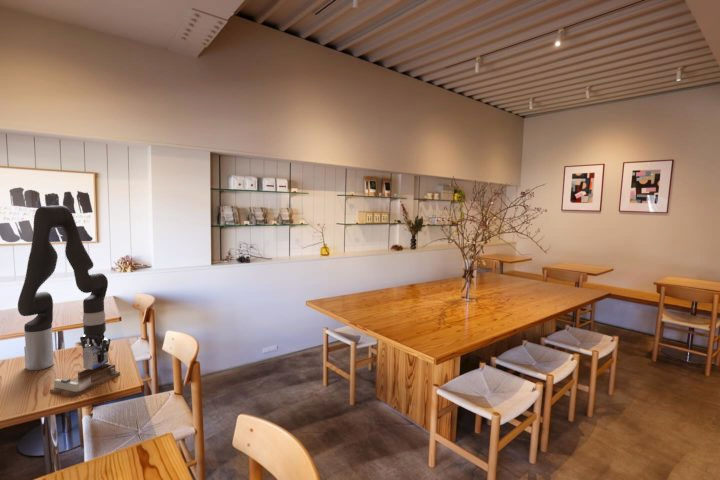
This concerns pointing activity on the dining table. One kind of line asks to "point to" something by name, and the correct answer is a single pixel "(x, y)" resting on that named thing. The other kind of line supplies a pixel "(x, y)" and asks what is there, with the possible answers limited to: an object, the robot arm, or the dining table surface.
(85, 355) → the medicine box
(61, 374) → the dining table surface
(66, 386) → the gate
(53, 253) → the robot arm
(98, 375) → the housing
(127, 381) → the dining table surface
